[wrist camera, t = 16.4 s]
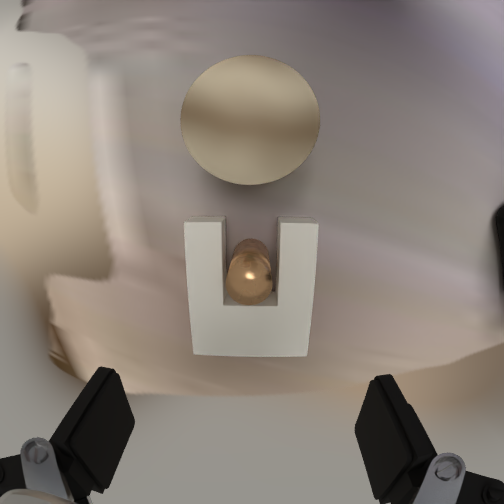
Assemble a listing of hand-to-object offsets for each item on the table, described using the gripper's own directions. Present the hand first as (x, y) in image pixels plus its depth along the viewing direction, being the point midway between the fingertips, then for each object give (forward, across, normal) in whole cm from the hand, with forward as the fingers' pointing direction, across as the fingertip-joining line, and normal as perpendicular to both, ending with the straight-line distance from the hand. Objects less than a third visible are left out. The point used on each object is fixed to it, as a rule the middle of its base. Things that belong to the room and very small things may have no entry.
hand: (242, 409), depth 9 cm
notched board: (+21, 0, +4) cm, 22 cm away
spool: (+22, 0, -11) cm, 24 cm away
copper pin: (+21, 0, +1) cm, 21 cm away
